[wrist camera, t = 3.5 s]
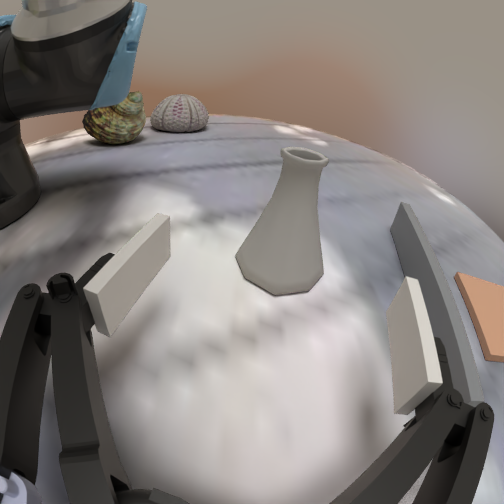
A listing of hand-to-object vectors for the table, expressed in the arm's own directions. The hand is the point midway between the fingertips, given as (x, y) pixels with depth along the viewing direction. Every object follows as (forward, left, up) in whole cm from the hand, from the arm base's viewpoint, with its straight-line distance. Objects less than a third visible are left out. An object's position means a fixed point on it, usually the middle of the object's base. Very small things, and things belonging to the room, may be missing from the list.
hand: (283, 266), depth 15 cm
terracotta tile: (+6, +26, -6) cm, 27 cm away
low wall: (0, +15, -6) cm, 16 cm away
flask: (-7, +4, -6) cm, 10 cm away
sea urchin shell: (-57, -1, -6) cm, 57 cm away
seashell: (-47, -14, -6) cm, 49 cm away
